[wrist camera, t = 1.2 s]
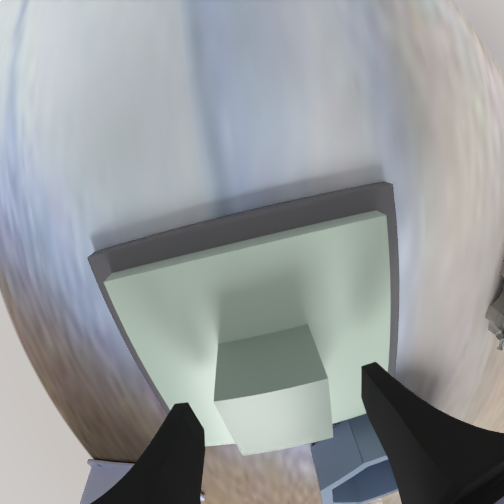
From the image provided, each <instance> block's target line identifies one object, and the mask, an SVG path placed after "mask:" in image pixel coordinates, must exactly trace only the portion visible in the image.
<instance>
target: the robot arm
mask: <svg viewBox="0 0 504 504" xmlns="http://www.w3.org/2000/svg"><path fill="white" fill-rule="evenodd" d="M361 398H362V401H363V404H364V407H365V410H366V413H367V416H368V418H369V420H370V422H371V424H372V426H373V428H374V431H375V433H376V435H377V437H378V439H379V441H380V443H381V445H382V447H383V449H384V451H385V453H386V455H387V457H388V460H389V462H390V465H391V468H392V471H393V474H394V477H395V480H396V484H397V487H398V491H399V494H400V498H401V502H402V504H504V433H499V432H494V431H489V430H486V429H482V428H479V427H476V426H473V425H471V424H468V423H465V422H463V421H460V420H458V419H456V418H454V417H451V416H449V415H447V414H445V413H444V412H442V411H440V410H438V409H436V408H435V407H433V406H431V405H430V404H428V403H427V402H425V401H424V400H422V399H421V398H419V397H418V396H416V395H415V394H414V393H412V392H411V391H410V390H408V389H407V388H406V387H405V386H403V385H402V384H401V383H400V382H398V381H397V380H396V379H395V378H394V377H392V376H391V375H390V374H389V373H388V372H387V371H386V370H385V369H383V368H382V367H381V366H380V365H379V364H378V363H377V362H373V363H370V364H367V365H364V366H361ZM204 455H205V433H204V428H203V427H202V425H201V423H200V422H199V420H198V418H197V417H196V415H195V413H194V412H193V410H192V408H191V407H190V405H189V403H188V402H186V403H176V404H174V405H173V407H172V409H171V410H170V412H169V414H168V415H167V417H166V419H165V420H164V422H163V424H162V425H161V427H160V429H159V430H158V432H157V433H156V435H155V437H154V438H153V440H152V441H151V443H150V444H149V446H148V447H147V448H146V450H145V451H144V453H143V454H142V455H141V457H140V458H139V459H138V461H137V462H136V463H135V464H133V463H120V462H109V461H101V460H93V459H88V462H87V463H88V464H89V465H90V466H91V467H92V468H91V471H90V474H89V477H88V480H87V483H86V486H85V489H84V492H83V495H82V499H81V502H80V504H201V503H200V501H204V500H205V496H204V495H203V494H202V493H201V484H202V474H203V465H204Z"/></svg>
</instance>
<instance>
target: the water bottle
mask: <svg viewBox="0 0 504 504" xmlns="http://www.w3.org/2000/svg"><path fill="white" fill-rule="evenodd" d="M364 504H383V500H382V498H378V499H376V500H373V501H370V502H367V503H364Z"/></svg>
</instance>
